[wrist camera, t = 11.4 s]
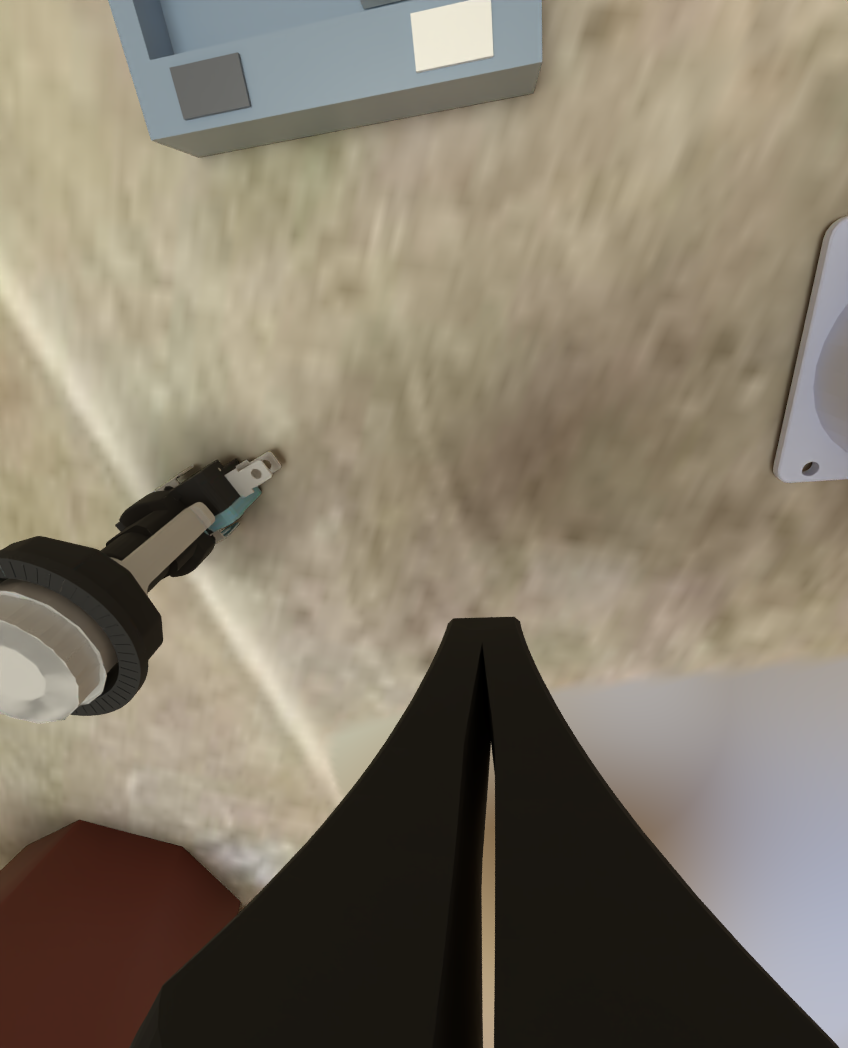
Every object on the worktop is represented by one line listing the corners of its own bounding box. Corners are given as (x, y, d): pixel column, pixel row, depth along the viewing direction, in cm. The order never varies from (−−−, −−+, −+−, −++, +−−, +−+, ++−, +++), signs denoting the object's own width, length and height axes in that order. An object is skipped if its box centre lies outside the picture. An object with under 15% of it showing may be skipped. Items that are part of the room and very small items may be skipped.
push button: (239, 396, 18) (15, 519, 10) (321, 509, 20) (197, 697, 11) (123, 473, 20) (-147, 631, 12) (207, 568, 22) (29, 765, 14)
